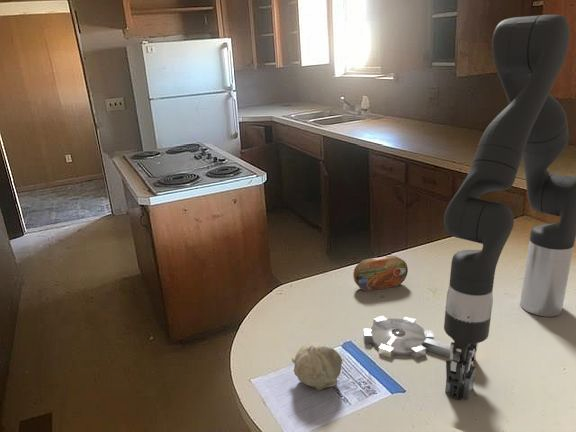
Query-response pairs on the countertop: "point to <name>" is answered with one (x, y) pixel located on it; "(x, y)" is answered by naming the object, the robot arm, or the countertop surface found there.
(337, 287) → the countertop surface
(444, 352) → the drive pin
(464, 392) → the grey cube with slot
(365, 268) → the tin
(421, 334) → the sprocket
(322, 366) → the garlic bulb
